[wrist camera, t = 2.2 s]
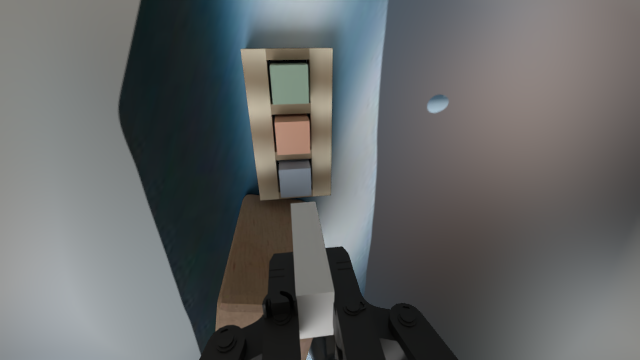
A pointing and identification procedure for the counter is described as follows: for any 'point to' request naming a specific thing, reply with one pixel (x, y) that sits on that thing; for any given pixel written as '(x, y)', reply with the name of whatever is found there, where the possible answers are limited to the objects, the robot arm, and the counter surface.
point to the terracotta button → (292, 134)
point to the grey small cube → (295, 177)
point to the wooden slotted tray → (264, 111)
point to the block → (254, 261)
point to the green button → (289, 83)
